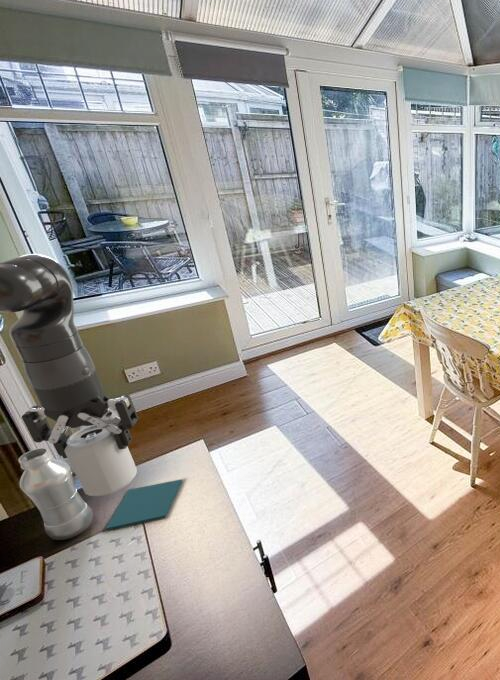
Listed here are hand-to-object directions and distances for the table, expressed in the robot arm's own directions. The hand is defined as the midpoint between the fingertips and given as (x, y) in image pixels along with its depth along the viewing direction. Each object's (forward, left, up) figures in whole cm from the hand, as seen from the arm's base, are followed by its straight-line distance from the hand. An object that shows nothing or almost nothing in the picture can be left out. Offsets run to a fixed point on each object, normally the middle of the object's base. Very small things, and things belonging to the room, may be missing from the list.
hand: (98, 450), depth 75 cm
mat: (-1, +7, -22) cm, 23 cm away
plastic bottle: (-12, +4, -22) cm, 25 cm away
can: (0, 0, -8) cm, 8 cm away
